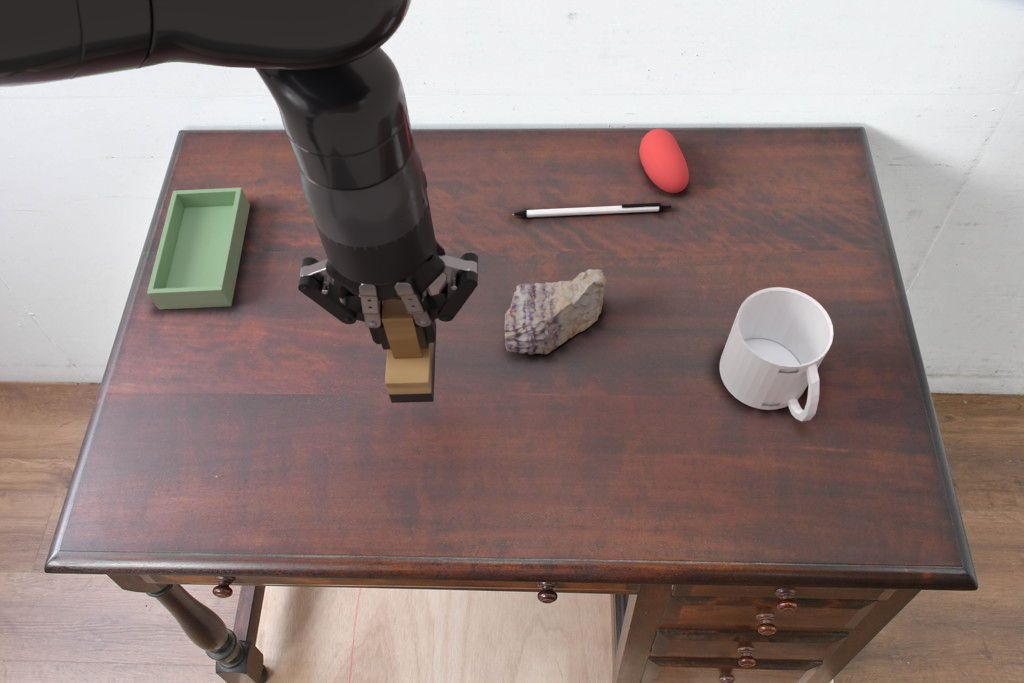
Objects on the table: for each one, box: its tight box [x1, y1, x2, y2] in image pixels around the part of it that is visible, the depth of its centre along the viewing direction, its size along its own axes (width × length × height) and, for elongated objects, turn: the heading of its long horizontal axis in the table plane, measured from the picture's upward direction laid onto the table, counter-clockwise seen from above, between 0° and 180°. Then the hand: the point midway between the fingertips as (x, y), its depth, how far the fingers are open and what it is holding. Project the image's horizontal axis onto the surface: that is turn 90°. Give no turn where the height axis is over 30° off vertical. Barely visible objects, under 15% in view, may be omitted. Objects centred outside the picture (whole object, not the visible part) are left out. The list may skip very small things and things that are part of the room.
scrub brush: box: [382, 299, 437, 404], centre depth 66 cm, size 7×4×10 cm, turn 1°
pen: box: [512, 202, 672, 218], centre depth 96 cm, size 1×19×1 cm, turn 92°
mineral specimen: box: [503, 268, 607, 355], centre depth 86 cm, size 13×7×6 cm, turn 126°
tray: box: [146, 186, 251, 311], centre depth 94 cm, size 15×8×3 cm, turn 2°
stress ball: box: [638, 128, 690, 194], centre depth 98 cm, size 5×9×6 cm, turn 2°
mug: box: [719, 286, 834, 422], centre depth 79 cm, size 12×9×9 cm
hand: (407, 339), depth 66 cm, fingers closed on scrub brush, 2 cm apart
